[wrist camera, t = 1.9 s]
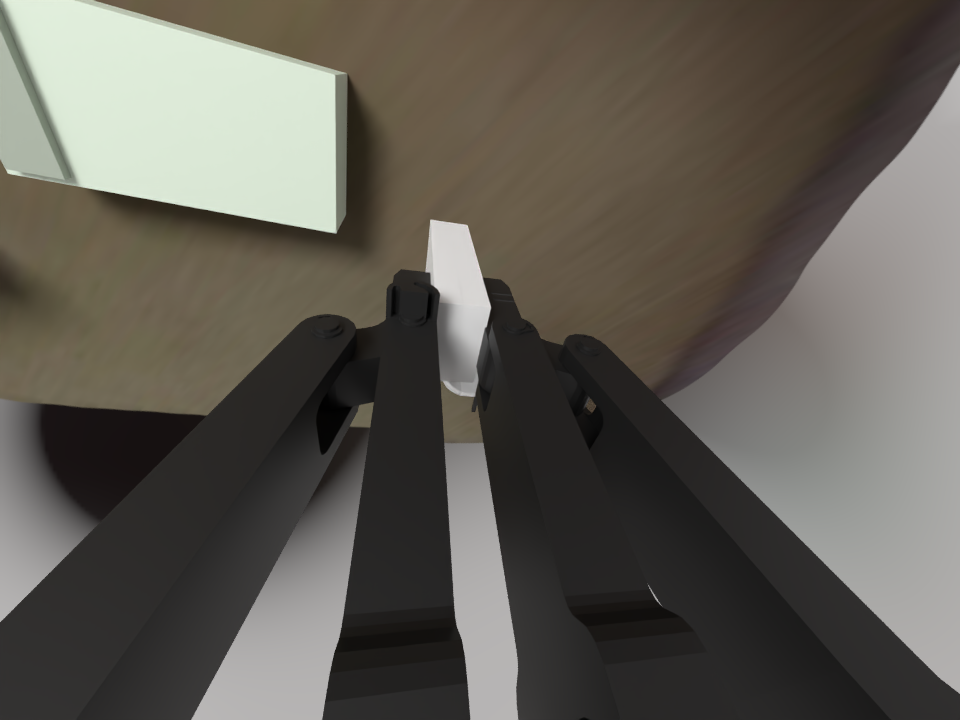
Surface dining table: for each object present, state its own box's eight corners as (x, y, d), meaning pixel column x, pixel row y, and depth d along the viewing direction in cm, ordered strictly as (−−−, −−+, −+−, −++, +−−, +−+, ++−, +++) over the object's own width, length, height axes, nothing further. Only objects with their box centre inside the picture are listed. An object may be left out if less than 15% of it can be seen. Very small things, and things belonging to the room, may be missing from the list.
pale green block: (-11, -30, 21) (-123, -55, 17) (348, 73, 26) (333, 75, 21) (67, 158, 27) (-1, 175, 23) (346, 213, 32) (334, 236, 27)
